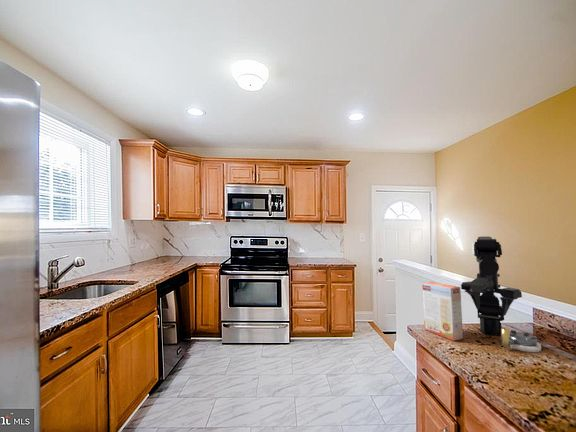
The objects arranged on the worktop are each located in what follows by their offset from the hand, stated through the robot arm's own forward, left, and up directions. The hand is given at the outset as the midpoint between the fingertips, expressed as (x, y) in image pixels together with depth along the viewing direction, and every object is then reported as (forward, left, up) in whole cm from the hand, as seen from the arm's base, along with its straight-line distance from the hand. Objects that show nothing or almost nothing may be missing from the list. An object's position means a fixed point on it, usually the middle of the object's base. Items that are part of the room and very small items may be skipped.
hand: (490, 312), depth 104 cm
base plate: (+10, 0, -12) cm, 16 cm away
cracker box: (-14, +9, -12) cm, 21 cm away
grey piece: (+7, -2, -10) cm, 13 cm away
